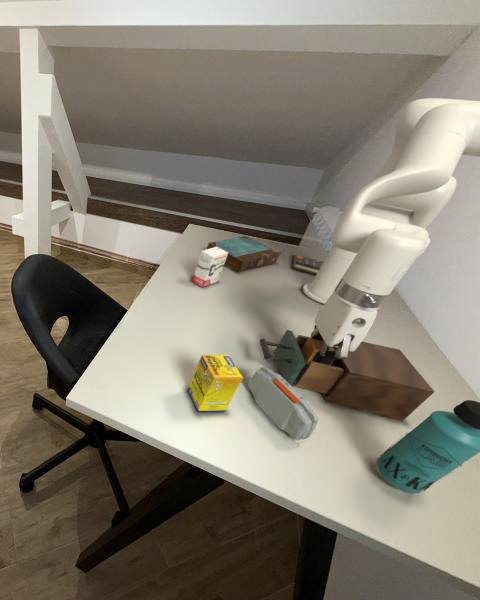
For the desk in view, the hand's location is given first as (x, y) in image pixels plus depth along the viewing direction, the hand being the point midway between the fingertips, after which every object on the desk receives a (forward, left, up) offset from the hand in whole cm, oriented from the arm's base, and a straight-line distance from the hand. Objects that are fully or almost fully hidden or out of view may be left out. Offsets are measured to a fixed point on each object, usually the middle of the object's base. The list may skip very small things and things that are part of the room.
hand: (313, 359), depth 71 cm
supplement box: (+22, -16, -6) cm, 28 cm away
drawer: (+1, -1, -5) cm, 5 cm away
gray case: (+16, -4, -6) cm, 18 cm away
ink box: (-30, -33, -6) cm, 45 cm away
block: (0, 0, 0) cm, 0 cm away
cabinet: (-4, +10, -6) cm, 12 cm away
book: (-60, -28, -6) cm, 66 cm away
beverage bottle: (+17, +16, -6) cm, 24 cm away
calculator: (-74, -4, -6) cm, 74 cm away
